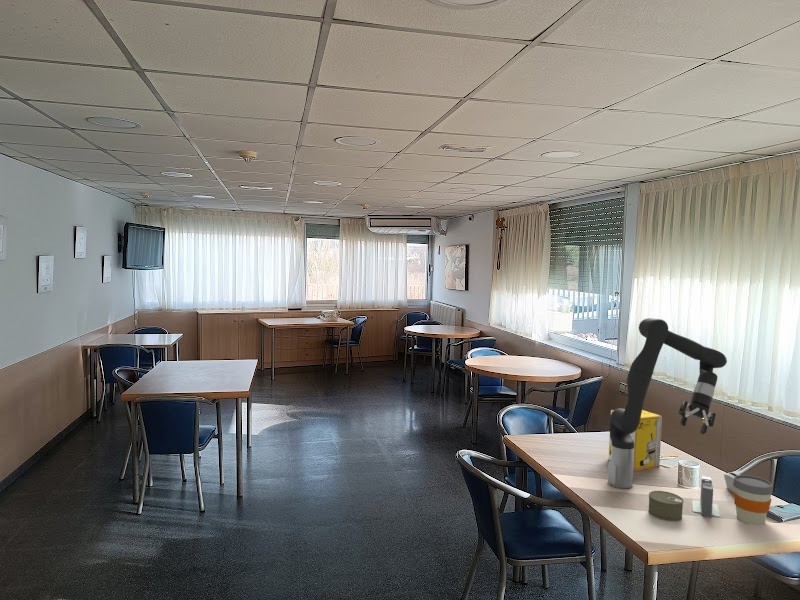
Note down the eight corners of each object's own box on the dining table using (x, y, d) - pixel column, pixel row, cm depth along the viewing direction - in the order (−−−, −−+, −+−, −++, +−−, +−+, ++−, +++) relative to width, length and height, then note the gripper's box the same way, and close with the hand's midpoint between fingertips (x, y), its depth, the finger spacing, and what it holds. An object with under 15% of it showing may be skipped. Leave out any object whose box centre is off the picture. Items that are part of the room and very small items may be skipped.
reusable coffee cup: (756, 529, 192) (759, 489, 191) (723, 515, 204) (726, 477, 203) (778, 524, 197) (780, 485, 196) (744, 510, 209) (747, 473, 208)
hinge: (762, 504, 214) (755, 481, 214) (750, 507, 214) (743, 484, 214) (738, 487, 231) (731, 466, 230) (727, 491, 231) (721, 469, 231)
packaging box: (659, 467, 254) (662, 416, 253) (633, 470, 248) (636, 418, 247) (633, 455, 269) (635, 407, 268) (608, 459, 263) (610, 410, 262)
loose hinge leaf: (709, 504, 212) (711, 477, 212) (710, 510, 207) (712, 482, 206) (700, 502, 214) (701, 475, 213) (700, 508, 209) (702, 480, 208)
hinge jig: (692, 500, 216) (693, 474, 216) (717, 505, 212) (719, 478, 212) (693, 513, 204) (694, 486, 203) (720, 519, 200) (721, 491, 199)
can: (651, 504, 211) (652, 488, 211) (685, 513, 204) (686, 496, 204) (644, 515, 202) (645, 497, 202) (679, 525, 195) (680, 506, 194)
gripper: (692, 387, 226) (681, 423, 223) (723, 401, 225) (713, 437, 222) (682, 388, 233) (672, 423, 230) (713, 401, 232) (703, 436, 229)
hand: (692, 429), depth 226 cm, fingers open, 8 cm apart
